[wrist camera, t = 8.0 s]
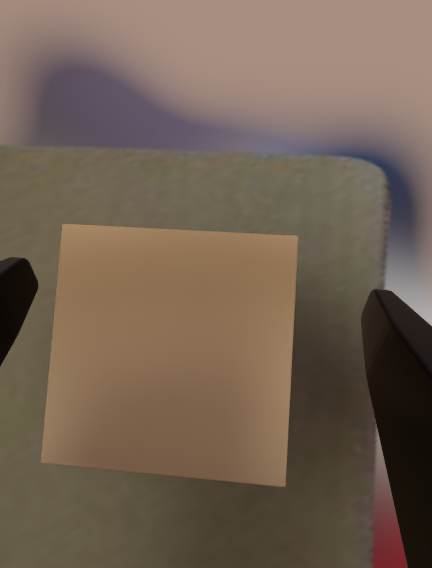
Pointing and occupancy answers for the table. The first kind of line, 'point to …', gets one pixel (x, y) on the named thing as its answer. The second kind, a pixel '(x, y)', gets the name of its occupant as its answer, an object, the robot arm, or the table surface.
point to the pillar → (172, 353)
